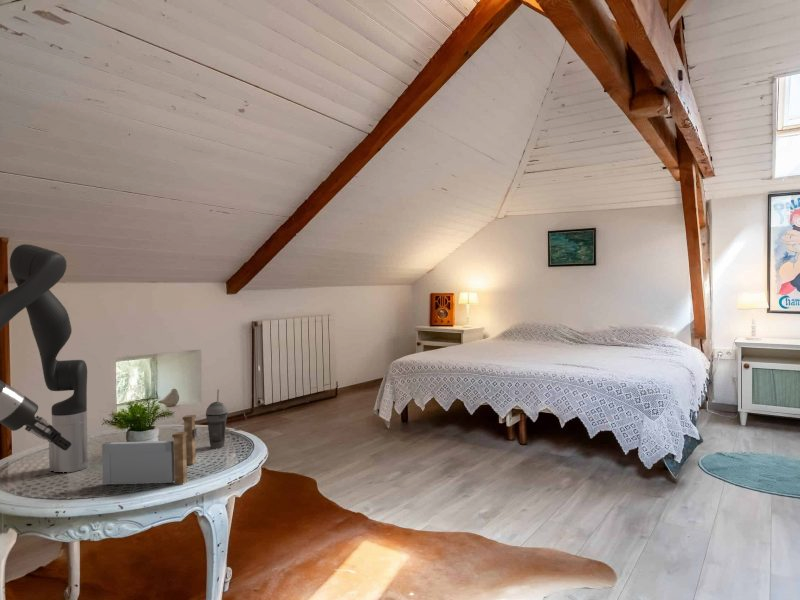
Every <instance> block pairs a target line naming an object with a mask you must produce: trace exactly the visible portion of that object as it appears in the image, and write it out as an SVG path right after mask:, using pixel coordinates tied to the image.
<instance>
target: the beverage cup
mask: <svg viewBox="0 0 800 600" xmlns="http://www.w3.org/2000/svg"><path fill="white" fill-rule="evenodd" d="M219 395H220V389H217V393H216V401H213V402H211V403H210V404H209V405H208V406H207V408H206V411H205V416H206V421H207V430H208V439H209V444H210V449H213V450H217V449H216V448H218V449H222V447H223V448H224V447H225V442H226V429H227V428H226V427H227V418H228V413H229V412H228V408H227V407H226V405H225V404H224V403H223V402H221V401H220V400H219V399H220V396H219Z"/></svg>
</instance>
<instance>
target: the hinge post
mask: <svg viewBox="0 0 800 600" xmlns="http://www.w3.org/2000/svg"><path fill="white" fill-rule="evenodd" d="M186 435H187V432H184V431H176V432H174V433H172V435H171V437H172V438H173V441H174V469H175V481H174V485H184V484H186V483H185V482H186V481H187V482H188V467H187V466H188V465H187V461H186ZM183 483H184V484H183Z"/></svg>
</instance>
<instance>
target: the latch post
mask: <svg viewBox="0 0 800 600" xmlns="http://www.w3.org/2000/svg"><path fill="white" fill-rule="evenodd" d="M196 417H197V415H196V414H186V415H184V416H182V421H183V432H187V435H186V461H187V466H190V465H192V466H193V465H194V464H195V463H197V461H196V437H197V432H198V431H197V428H195V427H196V421H195V420H196V419H195V418H196Z"/></svg>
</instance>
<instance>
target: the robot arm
mask: <svg viewBox="0 0 800 600" xmlns="http://www.w3.org/2000/svg"><path fill="white" fill-rule="evenodd" d="M9 268H10V272H11V275H12V277H13V279H14V281H15V283H16V285H17V286H16V287H14V288H12V289H11V290H9V291H6V292H4V293H1V294H0V331H1V330H2V329H3V328H4V327H5V325H7V324H8V323H9V322H10V321H11V320H12V319H13V318H14V317H16V315H18V314H19V313H20V312H22V311H23V310H25V309H26V312H27V315H28V319H29V323H30V327H31V330H32V334H33V337H34V339H35V343H36V345H37V348H38V353H39V357H40V360H41V365H42V366H41V367H42V372H43V379H44V382H45V383H44V384H45V386H46V388H47V389H48V390H49V391H51V392H63V391H64V392H65V391H73V393H72V394H71V396H69V397H67V398H66V399H64V400H61V401H58V402H56V403H54V404H52V406H51V424H50V423H49V422H48V421H47V419H46V418H43V417H42V416H39V415H36V413H37V412H38V410H39V405H38V404H36V402H34V401H33V400H31V399H30V398H28V397H27V396H26V395H24V393H23V394H22V392H20V391H19V390H18V389H16V388H14V387H12V386H10V385H8V384H7V383H5V382H4V381H2V379H0V425H2V426H4V427H6V428H7V429H9V430H10V431H13V432H15V431H18V430H20V429H21V428H23V427H24V426H25V428H24V431H26V432H28V433H31V434H32V435H34V436H36V437H37V438H39V439H42V440H44V441H45V440H46V441H47V442H48V455H49V456H48V458H49V472H50V471H55V472H63V473H62V474H65V473H64V472H67V473H72V472H79V471H81V470H84V469H86V468H87V467H88V466H89V451H88V450H89V448H88V446H89V443H88V441H89V439H88V411H87V410H88V409H87V406H88V405H87V404H88V403H87V402H88V401H87V400H88V399H87V396H88V395H87V392H88V390H87V388H88V387H87V385H88V367H87V363H86V361H85V360H83V359H70V360H58V359H57V356H58V354H60V351H61V350H63V348H64V347H65V345H66V344H67V342H68V341H69V339H70V337H71V335H72V324H71V320H70V316H69V313H68V310H67V309H66V307H65V306H64V305H63V303H62V302H61V301H60V299H58V298H57V296H55V294H54V293H53V292H52V291H51V290H50V289H52V288H53V287H54V286H56V285H57V283H58V282H59V281H60V280H61V279H62V278H64V277H63V276H64V275H65V273H66V270H67V259H66V258H65V255H63V254H61V253H60V252H57V251H54V250H50V249H48V248H43V247H40V246H37V245H35V244H34V245H32V244H26V243H25V244H20V245H17V246H16V247H15V248H14V249H13V250H12V252H11V254H10V259H9ZM55 472H54V473H55Z"/></svg>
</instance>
